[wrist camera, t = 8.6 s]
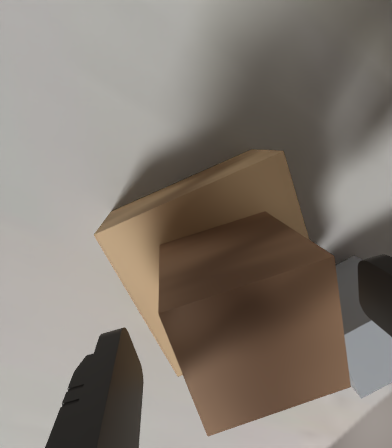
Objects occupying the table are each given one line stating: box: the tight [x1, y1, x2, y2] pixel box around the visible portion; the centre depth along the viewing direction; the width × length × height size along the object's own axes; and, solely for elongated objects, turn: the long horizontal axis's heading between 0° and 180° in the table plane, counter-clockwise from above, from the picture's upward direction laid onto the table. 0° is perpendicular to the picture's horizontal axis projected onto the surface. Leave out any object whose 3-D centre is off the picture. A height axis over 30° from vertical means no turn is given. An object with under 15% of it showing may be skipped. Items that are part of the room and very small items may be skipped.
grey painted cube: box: [336, 255, 392, 398], centre depth 15 cm, size 4×4×4 cm
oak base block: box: [94, 149, 309, 377], centre depth 13 cm, size 8×8×4 cm
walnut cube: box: [158, 211, 351, 436], centre depth 9 cm, size 4×4×4 cm
